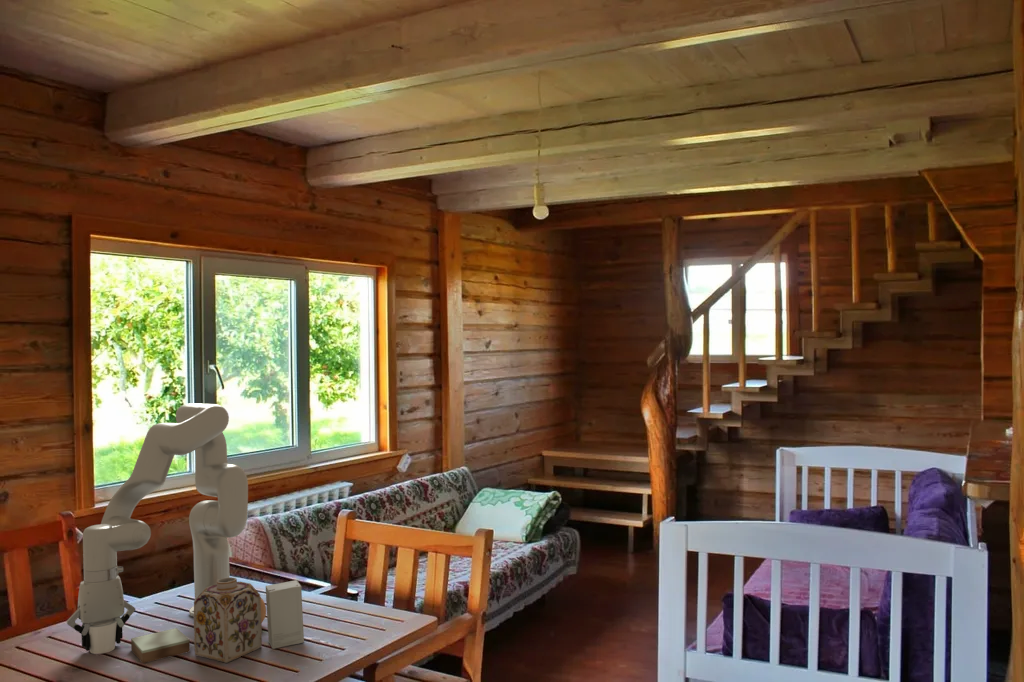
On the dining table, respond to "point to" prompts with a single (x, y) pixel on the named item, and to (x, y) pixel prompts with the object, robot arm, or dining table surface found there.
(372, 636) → the dining table surface
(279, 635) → the skincare box
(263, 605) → the egg
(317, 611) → the dining table surface
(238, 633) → the decorative jar
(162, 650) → the plinth
